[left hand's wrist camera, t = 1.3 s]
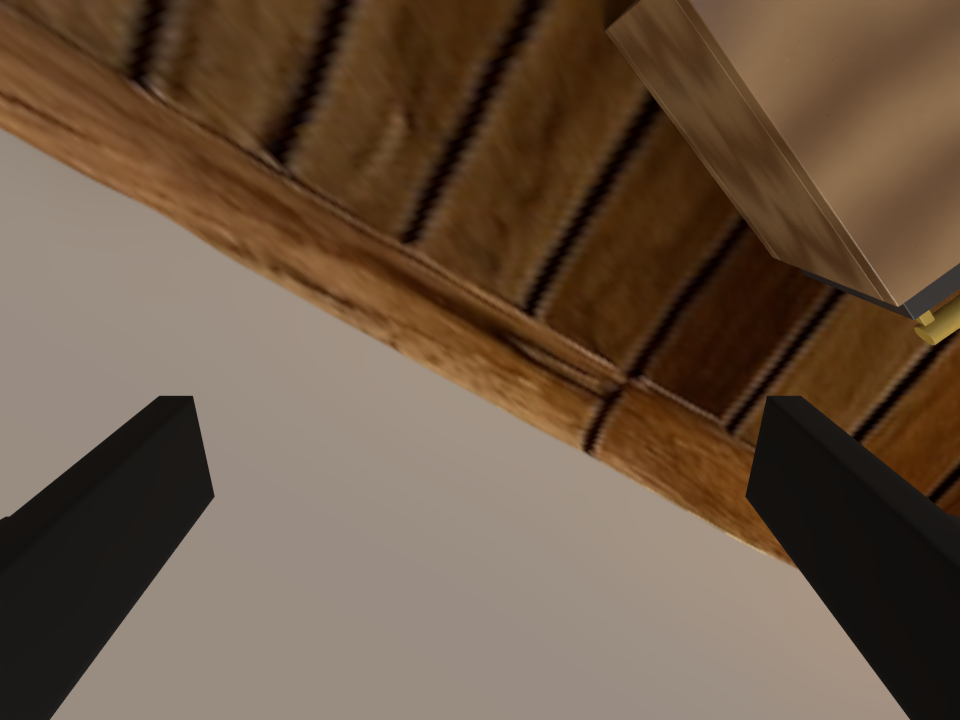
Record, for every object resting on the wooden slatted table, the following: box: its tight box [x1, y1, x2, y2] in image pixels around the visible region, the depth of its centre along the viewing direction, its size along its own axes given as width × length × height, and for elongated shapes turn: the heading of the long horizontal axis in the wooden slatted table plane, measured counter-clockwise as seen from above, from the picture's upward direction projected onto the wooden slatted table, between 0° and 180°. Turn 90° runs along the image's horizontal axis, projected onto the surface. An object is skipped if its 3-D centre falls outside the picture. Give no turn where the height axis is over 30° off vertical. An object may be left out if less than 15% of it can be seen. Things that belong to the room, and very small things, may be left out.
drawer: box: [800, 263, 960, 345], centre depth 27 cm, size 21×9×9 cm, turn 43°
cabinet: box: [605, 0, 960, 307], centre depth 26 cm, size 17×11×11 cm, turn 43°
